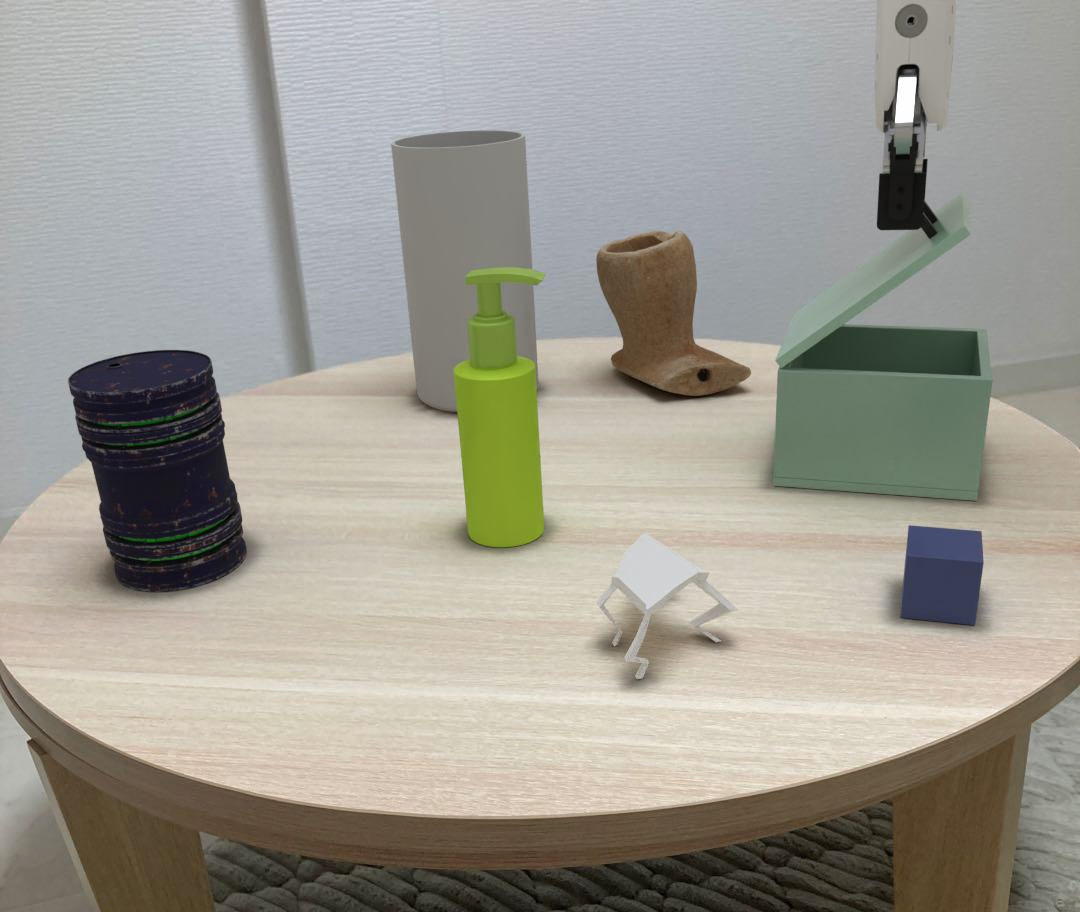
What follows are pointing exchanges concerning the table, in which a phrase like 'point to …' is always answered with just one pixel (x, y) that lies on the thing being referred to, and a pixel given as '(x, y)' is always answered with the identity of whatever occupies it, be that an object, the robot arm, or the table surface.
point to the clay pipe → (660, 315)
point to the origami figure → (658, 588)
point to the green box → (885, 412)
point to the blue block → (942, 575)
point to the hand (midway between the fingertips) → (901, 218)
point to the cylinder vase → (461, 244)
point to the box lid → (877, 277)
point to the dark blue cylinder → (160, 468)
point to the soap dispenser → (499, 420)
